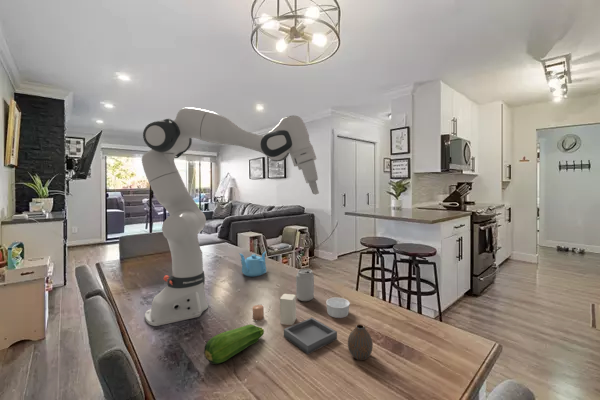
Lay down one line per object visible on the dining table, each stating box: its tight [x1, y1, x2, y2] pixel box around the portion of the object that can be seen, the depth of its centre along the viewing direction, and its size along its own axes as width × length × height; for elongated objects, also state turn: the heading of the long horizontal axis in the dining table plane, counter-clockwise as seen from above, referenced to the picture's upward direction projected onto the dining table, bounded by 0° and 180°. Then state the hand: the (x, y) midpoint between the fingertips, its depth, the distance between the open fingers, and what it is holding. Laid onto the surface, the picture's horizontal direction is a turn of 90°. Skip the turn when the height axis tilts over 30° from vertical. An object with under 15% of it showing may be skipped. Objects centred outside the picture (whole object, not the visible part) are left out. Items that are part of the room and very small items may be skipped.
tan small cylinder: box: [252, 304, 265, 322], centre depth 104 cm, size 4×4×4 cm
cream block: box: [279, 293, 297, 326], centre depth 101 cm, size 4×4×9 cm
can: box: [295, 268, 315, 302], centre depth 120 cm, size 8×8×12 cm
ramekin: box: [325, 297, 351, 319], centre depth 107 cm, size 9×9×4 cm
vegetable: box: [203, 324, 265, 365], centre depth 84 cm, size 7×7×20 cm
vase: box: [347, 324, 374, 361], centre depth 81 cm, size 7×7×9 cm
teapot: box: [238, 250, 267, 278], centre depth 152 cm, size 15×15×10 cm
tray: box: [283, 317, 338, 355], centre depth 90 cm, size 12×12×2 cm
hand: (315, 193), depth 106 cm, fingers open, 8 cm apart
